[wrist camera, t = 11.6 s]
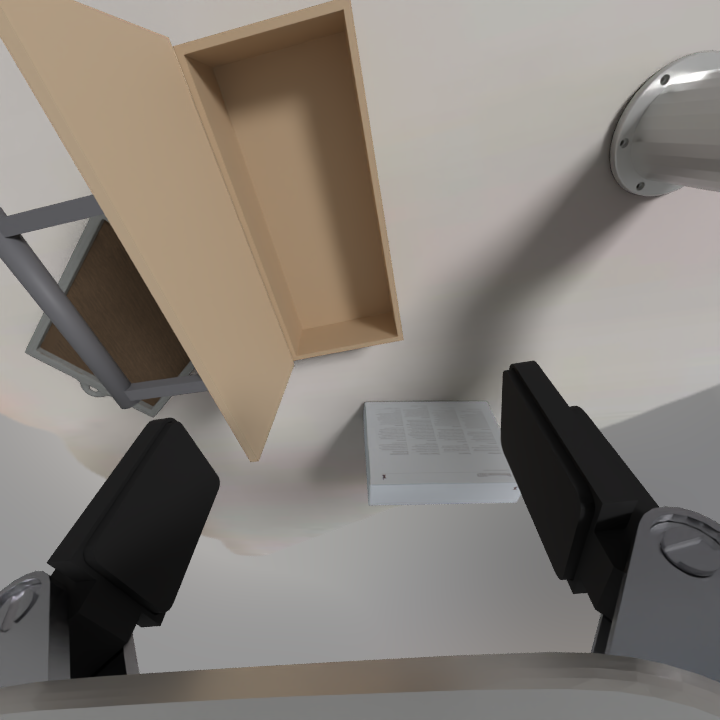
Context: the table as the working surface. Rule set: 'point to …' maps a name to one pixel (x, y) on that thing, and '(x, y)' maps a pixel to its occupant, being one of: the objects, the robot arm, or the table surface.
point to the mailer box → (301, 172)
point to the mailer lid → (146, 209)
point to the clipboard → (112, 318)
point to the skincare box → (435, 454)
